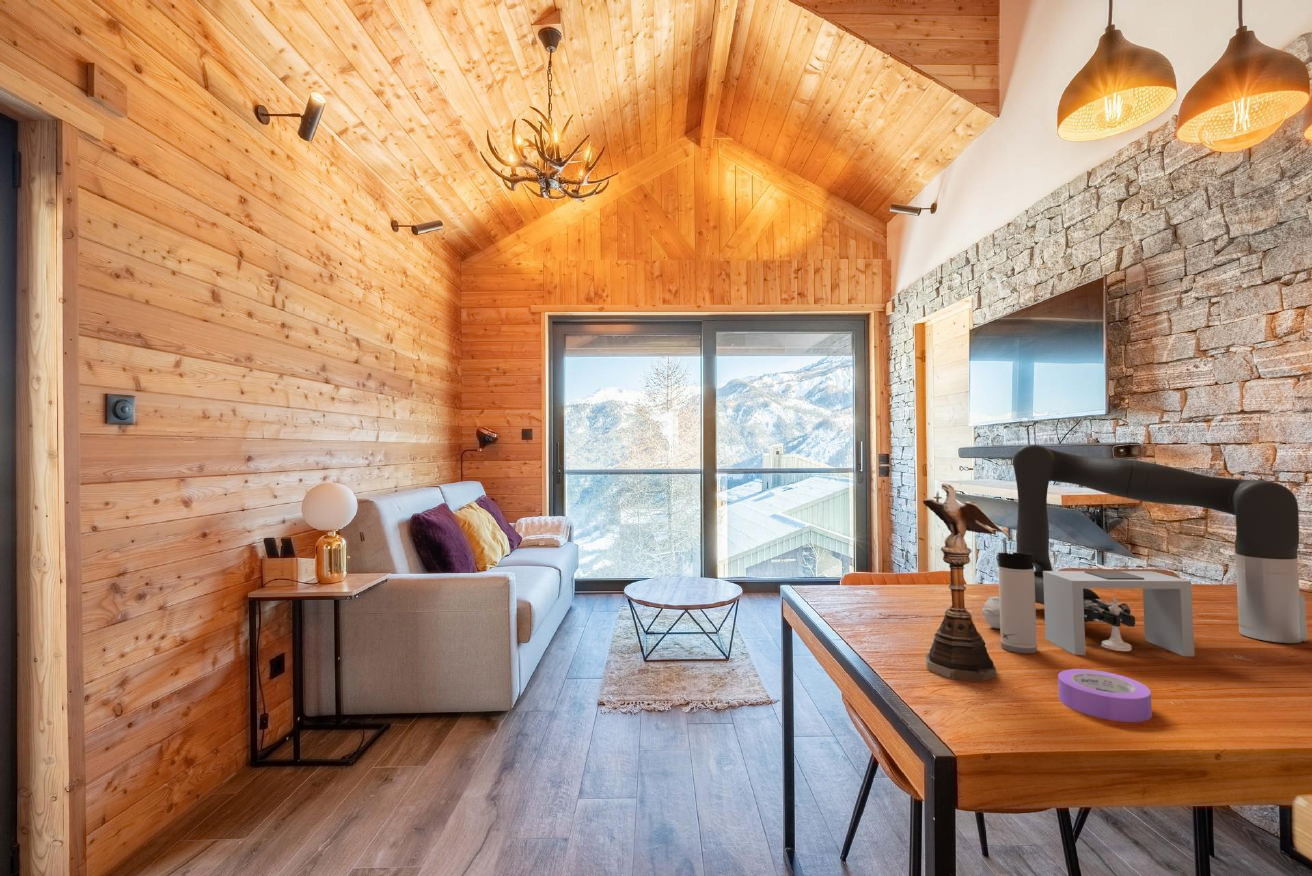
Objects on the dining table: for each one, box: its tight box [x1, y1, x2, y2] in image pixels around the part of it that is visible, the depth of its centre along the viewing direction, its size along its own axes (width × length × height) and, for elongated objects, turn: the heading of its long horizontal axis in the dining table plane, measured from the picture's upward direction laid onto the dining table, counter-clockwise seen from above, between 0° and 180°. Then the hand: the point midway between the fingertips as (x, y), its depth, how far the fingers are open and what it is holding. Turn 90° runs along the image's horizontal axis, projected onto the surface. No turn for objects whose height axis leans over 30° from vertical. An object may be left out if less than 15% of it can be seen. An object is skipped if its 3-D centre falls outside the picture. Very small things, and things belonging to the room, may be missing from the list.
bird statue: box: [922, 483, 1012, 682], centre depth 111 cm, size 17×13×35 cm
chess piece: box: [1101, 597, 1133, 652], centre depth 120 cm, size 5×5×10 cm
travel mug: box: [997, 551, 1038, 655], centre depth 119 cm, size 6×7×20 cm
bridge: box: [1043, 570, 1195, 657], centre depth 120 cm, size 22×10×14 cm, turn 85°
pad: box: [1083, 570, 1144, 580], centre depth 120 cm, size 7×7×1 cm
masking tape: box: [1057, 668, 1153, 723], centre depth 92 cm, size 12×12×4 cm
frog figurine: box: [981, 596, 1000, 630], centre depth 134 cm, size 6×7×7 cm
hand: (1125, 621), depth 117 cm, fingers closed on chess piece
